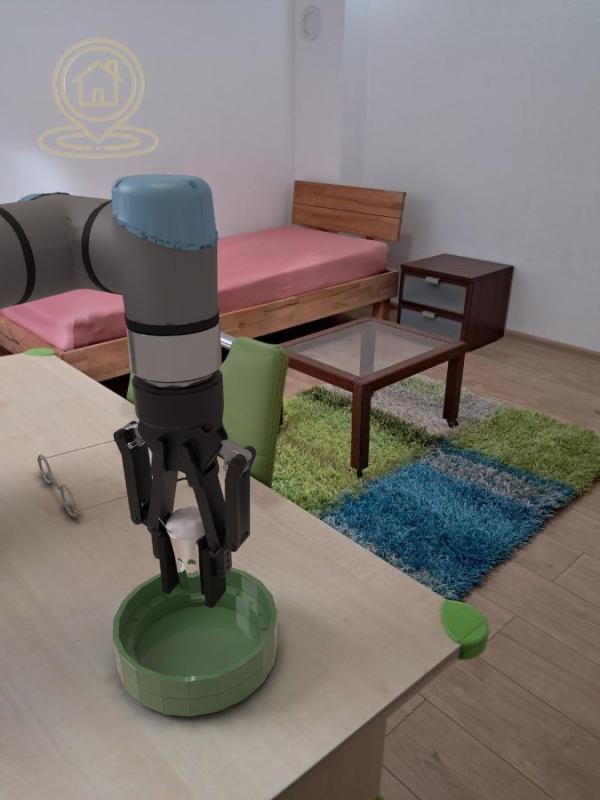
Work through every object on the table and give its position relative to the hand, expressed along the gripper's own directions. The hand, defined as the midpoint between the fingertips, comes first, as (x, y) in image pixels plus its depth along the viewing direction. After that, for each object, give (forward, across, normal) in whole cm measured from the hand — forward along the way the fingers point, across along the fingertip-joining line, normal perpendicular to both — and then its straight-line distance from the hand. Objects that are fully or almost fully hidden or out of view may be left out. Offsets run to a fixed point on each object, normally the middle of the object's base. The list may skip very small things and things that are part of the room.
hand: (194, 591), depth 62 cm
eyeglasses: (+8, +30, -25) cm, 40 cm away
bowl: (+8, 0, 0) cm, 8 cm away
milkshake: (+1, 0, 0) cm, 1 cm away
